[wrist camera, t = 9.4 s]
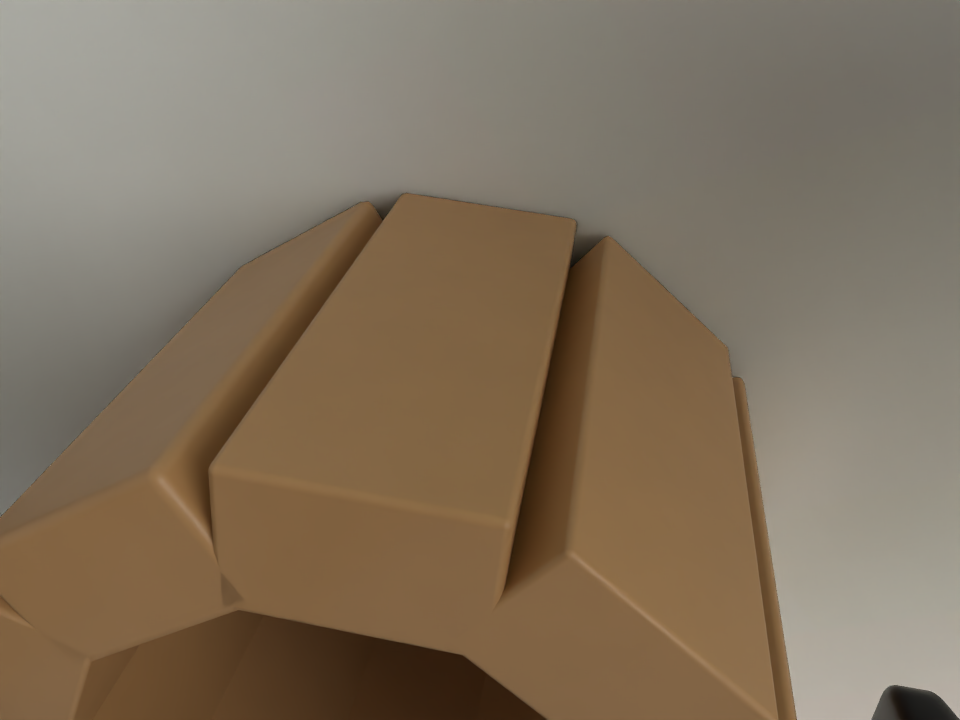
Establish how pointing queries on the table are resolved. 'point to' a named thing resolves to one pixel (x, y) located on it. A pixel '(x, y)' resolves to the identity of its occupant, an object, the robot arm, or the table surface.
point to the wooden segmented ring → (407, 498)
